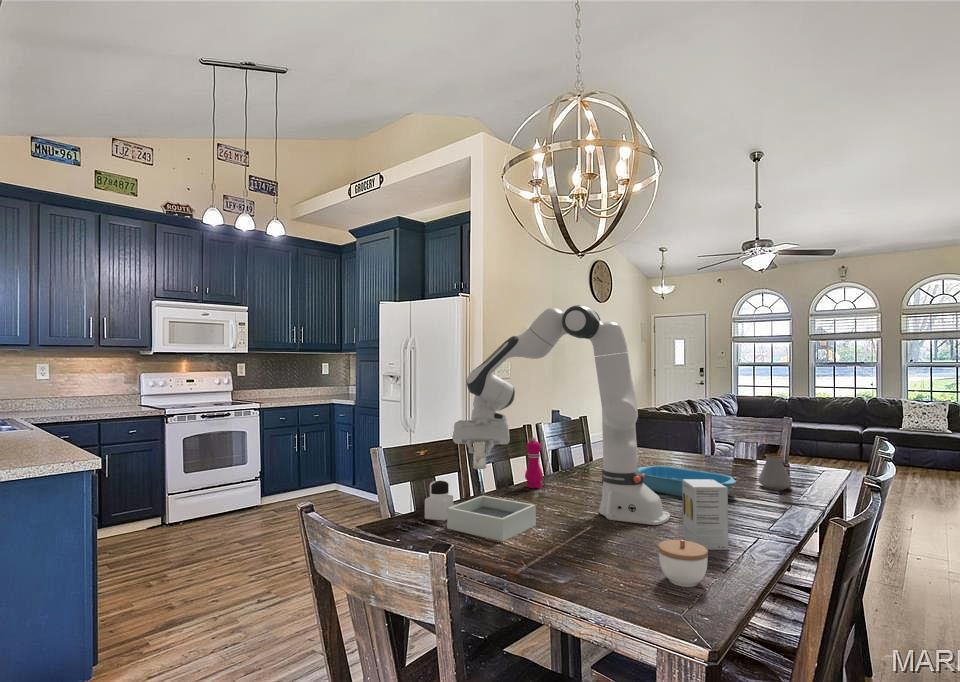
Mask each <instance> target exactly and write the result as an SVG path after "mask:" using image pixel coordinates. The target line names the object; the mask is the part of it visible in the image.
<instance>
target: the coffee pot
mask: <svg viewBox="0 0 960 682" xmlns="http://www.w3.org/2000/svg"><path fill="white" fill-rule="evenodd" d="M783 447H784V445H779V448H778V451H777V454H776V453H765V454H764V457H765V458H766V461H765V463H764V466H763V468H762V470H761V472H760V474H759V476H758V479H757V480H758V482H759V484H760V485H762V486H763V488H764V487H765V489H767V488H768V490H772V489H774V490H773V491H785V490H786V489H788V488H789V487H790V486H791V484H792V480H791V478H790V476H789V473H788V472H787V470H786V468H785V466H784V464H783V462H782V460H783V459H784V458H785V456H784V455H782V453H783V451H784V450H785V448H783ZM784 489H785V490H784Z"/></svg>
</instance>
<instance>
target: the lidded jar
mask: <svg viewBox="0 0 960 682" xmlns="http://www.w3.org/2000/svg"><path fill="white" fill-rule="evenodd" d="M657 549H658V559H659V565H660V569H661V571H662V573H663V574H664V575H665V577H666V578H667V579H668V581H669V582H670V583H671V584H673V585H675V586H677V587H683V588H695V587H696V586H697V585H698V584H699V583H700V582H701V581H702V580H703V579H704V578H705V576H706V573H707V568H708V561H709V560H708V557H709V550H707V549H706V548H705V547H704V546H702V545H700V544H697V543H694V542H690V541H686V540H685V539H667V540H663V541H661V542H659V543H658V545H657Z"/></svg>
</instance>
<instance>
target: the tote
mask: <svg viewBox="0 0 960 682" xmlns="http://www.w3.org/2000/svg"><path fill="white" fill-rule="evenodd" d="M481 507H489V508H494V509H499V510H504V511H509V512H514V513H512V514H510V515H508V516H506V517H503V518H499V517H494V516H489V515H484V514H480V513H475V512H471V511H473V510H476V509H479V508H481ZM446 525H447V526H446V528H447V529H448V530H451V531H456V532H459V533H460V532H461V533H464V534H468V535H469V534H470V535H473V536H477V537H480V538H481V537H482V538H486V539H489V540H495V541H498V542H506V541H508V540H510V539H511V538H514V537H516V536H518V535H519V534H521V533H523V532H525V531H527V530H529V529H531V528H533V527H536V526H537V504H532V503H526V502H520V501H516V500H511V499H506V498H505V499H504V498H498V497H494V496H493V497H492V496H487V495H480V496H477V497H474V498H472V499H469V500H466V501H462V502H461V503H457V504H455V505H454V504H453V506H452V507H449V508H447V520H446Z"/></svg>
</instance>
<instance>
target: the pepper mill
mask: <svg viewBox="0 0 960 682" xmlns="http://www.w3.org/2000/svg"><path fill="white" fill-rule="evenodd" d="M526 451H527V457H528V466H527V468H526V470H525V474H524V478H525V480H526V483H525V484H526V485H525V486H526V487H525V488H527V487H529V488H528V489H530V488H539V489H542V488H543V483H542V480H543V478H544V475H543V471H542V468H541V466H540V460H539V459H540V457H541V453H540V452H541V451H542V445H541V443H540V442H539V441H537V438H536V437H535V436H533V437H531V440H530V441H529V442H527V443H526ZM541 487H542V488H541Z"/></svg>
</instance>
